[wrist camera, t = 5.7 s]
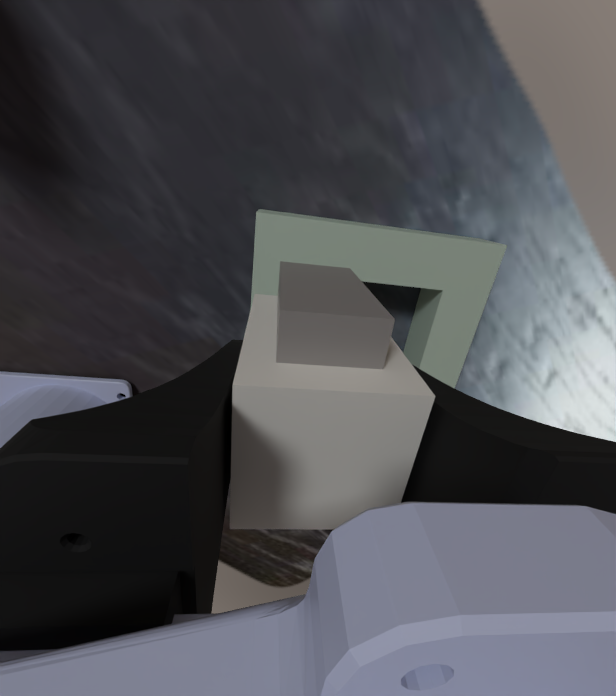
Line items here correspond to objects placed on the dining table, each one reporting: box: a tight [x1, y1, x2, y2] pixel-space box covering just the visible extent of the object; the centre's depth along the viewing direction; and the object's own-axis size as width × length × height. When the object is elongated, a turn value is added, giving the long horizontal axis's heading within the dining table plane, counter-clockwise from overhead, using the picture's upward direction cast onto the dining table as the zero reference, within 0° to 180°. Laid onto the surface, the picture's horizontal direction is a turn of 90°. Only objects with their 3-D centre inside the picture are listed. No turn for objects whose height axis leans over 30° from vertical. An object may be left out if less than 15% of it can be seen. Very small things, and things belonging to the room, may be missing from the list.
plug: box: [230, 261, 435, 530], centre depth 10 cm, size 5×4×6 cm
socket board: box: [251, 209, 507, 389], centre depth 19 cm, size 13×12×2 cm
